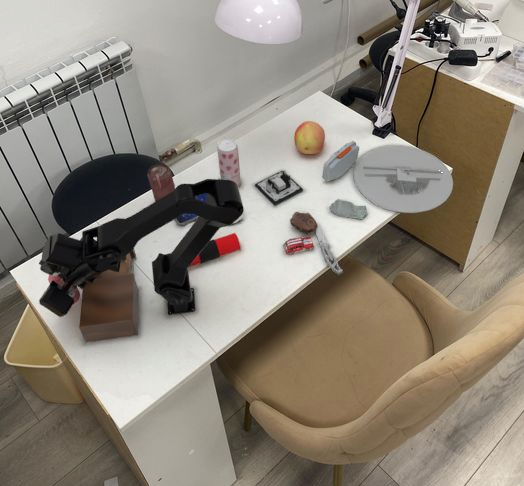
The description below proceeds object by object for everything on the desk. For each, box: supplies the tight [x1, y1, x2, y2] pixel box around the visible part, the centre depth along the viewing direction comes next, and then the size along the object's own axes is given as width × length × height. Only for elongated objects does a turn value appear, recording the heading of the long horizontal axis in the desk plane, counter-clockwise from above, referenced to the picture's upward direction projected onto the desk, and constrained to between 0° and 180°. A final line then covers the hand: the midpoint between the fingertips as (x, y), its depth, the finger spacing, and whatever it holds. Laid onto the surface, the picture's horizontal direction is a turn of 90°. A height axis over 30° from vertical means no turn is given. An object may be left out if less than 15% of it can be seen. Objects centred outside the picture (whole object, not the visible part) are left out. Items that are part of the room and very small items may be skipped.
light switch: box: [254, 170, 304, 206], centre depth 157 cm, size 10×4×10 cm
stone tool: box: [329, 198, 368, 220], centre depth 151 cm, size 10×2×5 cm
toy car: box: [282, 236, 315, 256], centre depth 142 cm, size 4×8×3 cm, turn 105°
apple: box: [293, 120, 326, 155], centre depth 167 cm, size 10×10×10 cm
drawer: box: [95, 248, 137, 279], centre depth 136 cm, size 13×10×5 cm
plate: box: [353, 144, 454, 214], centre depth 160 cm, size 28×28×1 cm
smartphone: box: [174, 193, 208, 227], centre depth 154 cm, size 7×1×15 cm
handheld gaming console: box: [321, 140, 360, 182], centre depth 160 cm, size 14×3×8 cm, turn 136°
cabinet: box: [78, 273, 140, 343], centre depth 128 cm, size 13×12×7 cm
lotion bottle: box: [47, 272, 82, 306], centre depth 127 cm, size 5×5×12 cm
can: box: [147, 163, 176, 202], centre depth 149 cm, size 6×6×14 cm
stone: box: [289, 211, 318, 235], centre depth 147 cm, size 7×7×3 cm
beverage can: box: [216, 138, 242, 188], centre depth 155 cm, size 6×6×15 cm
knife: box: [315, 223, 344, 276], centre depth 142 cm, size 2×18×3 cm
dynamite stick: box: [188, 232, 242, 268], centre depth 140 cm, size 5×5×20 cm
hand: (58, 284), depth 128 cm, fingers closed on lotion bottle, 5 cm apart
